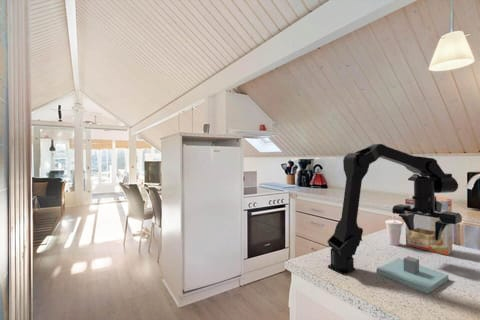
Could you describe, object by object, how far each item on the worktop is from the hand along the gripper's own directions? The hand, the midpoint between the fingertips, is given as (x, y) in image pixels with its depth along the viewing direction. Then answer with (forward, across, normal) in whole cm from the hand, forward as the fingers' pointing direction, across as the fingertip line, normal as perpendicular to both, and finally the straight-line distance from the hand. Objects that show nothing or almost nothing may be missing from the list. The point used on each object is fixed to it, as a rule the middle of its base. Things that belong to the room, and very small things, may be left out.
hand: (424, 237), depth 83 cm
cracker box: (+9, +5, -16) cm, 19 cm away
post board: (+9, -2, +14) cm, 17 cm away
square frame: (+1, 0, 0) cm, 1 cm away
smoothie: (+9, +15, -10) cm, 20 cm away
